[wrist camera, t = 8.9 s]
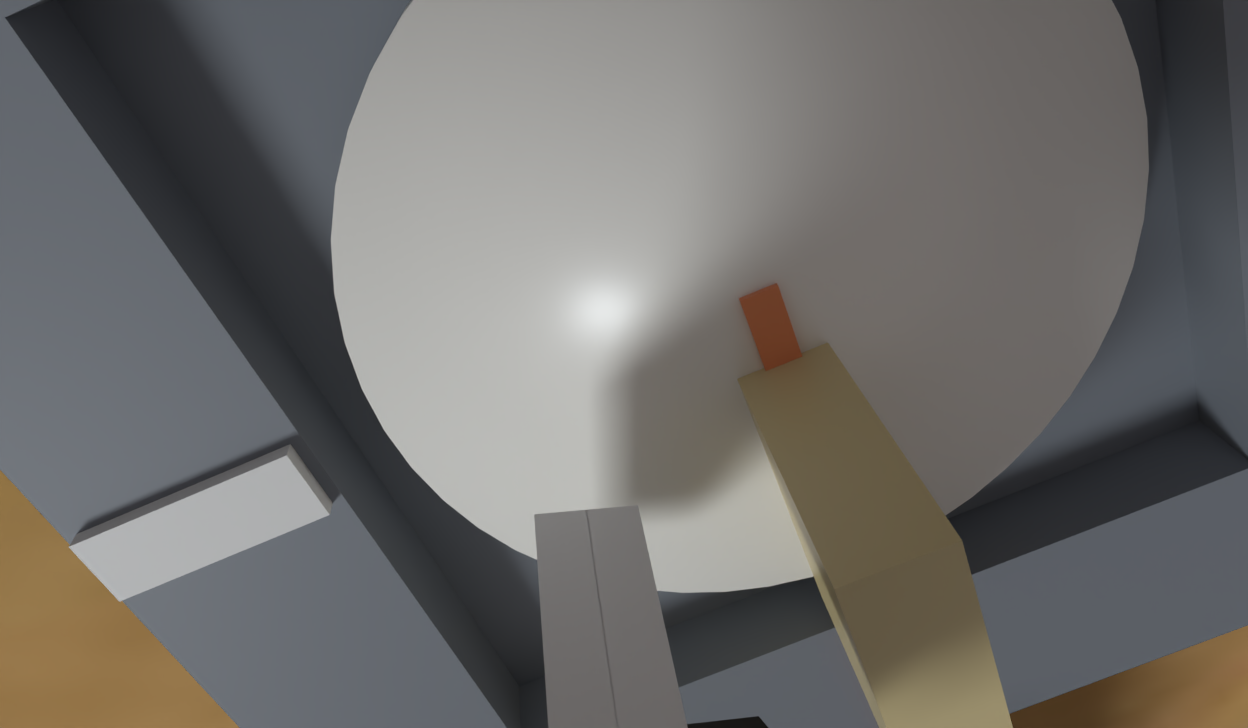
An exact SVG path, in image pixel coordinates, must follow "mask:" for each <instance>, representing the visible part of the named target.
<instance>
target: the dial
mask: <svg viewBox="0 0 1248 728" xmlns="http://www.w3.org/2000/svg"><path fill="white" fill-rule="evenodd" d="M1148 174H1149V155H1148V128H1147V115H1146V109H1145V103H1144V98H1143V92H1142V87H1141V81H1140V76H1139V70H1138V66H1137V63H1136V60H1135V57H1134V54H1133V51H1132V48H1131V45H1130V42H1129V40H1128V37H1127V34H1126V31H1125V28H1124V25H1123V22H1122V19H1121V17H1120V15H1119V13H1118V11H1117V9H1116V7H1115V5H1114V3H1113V1H1112V0H411V1H410V2H409V4H408V5H407V6H406V8H405V10H404V12H403V13H402V15H401V17H400V19H399V20H398V22H397V24H396V26H395V28H394V29H393V31H392V33H391V35H390V37H389V38H388V40H387V42H386V44H385V45H384V47H383V49H382V51H381V53H380V54H379V56H378V58H377V60H376V62H375V64H374V66H373V68H372V70H371V72H370V74H369V76H368V79H367V81H366V84H365V87H364V89H363V92H362V94H361V97H360V100H359V102H358V105H357V107H356V110H355V113H354V115H353V118H352V120H351V123H350V125H349V128H348V132H347V136H346V141H345V145H344V149H343V154H342V158H341V162H340V167H339V171H338V175H337V180H336V184H335V195H334V207H333V219H332V231H331V252H332V267H333V283H334V295H335V300H336V304H337V309H338V314H339V318H340V323H341V328H342V333H343V337H344V342H345V345H346V348H347V351H348V353H349V356H350V359H351V361H352V364H353V367H354V370H355V372H356V375H357V378H358V380H359V383H360V386H361V389H362V390H363V392H364V394H365V396H366V398H367V400H368V402H369V403H370V405H371V407H372V409H373V411H374V413H375V415H376V416H377V418H378V420H379V422H380V424H381V426H382V427H383V429H384V431H385V432H386V434H387V435H388V436H389V438H390V439H391V441H392V442H393V443H394V445H395V446H396V447H397V449H398V450H399V451H400V453H401V454H402V455H403V457H404V458H405V460H406V461H407V462H408V464H409V465H410V466H411V468H412V469H413V470H414V471H415V472H416V473H417V474H418V475H419V476H420V477H421V478H422V479H423V480H424V481H425V482H426V483H427V484H428V485H429V486H430V487H431V488H432V489H433V490H434V491H435V492H436V493H437V494H438V495H439V497H440V498H441V499H442V500H443V501H445V502H446V503H447V504H449V505H450V506H451V507H452V508H454V509H455V510H456V511H457V512H459V513H460V514H461V515H462V516H464V517H465V518H466V519H468V520H469V521H470V522H471V523H473V524H474V525H475V526H476V527H478V528H479V529H481V530H483V531H484V532H486V533H488V534H489V535H491V536H493V537H494V538H496V539H498V540H499V541H501V542H503V543H504V544H506V545H508V546H509V547H511V548H512V549H514V550H516V551H518V552H520V553H523V554H525V555H527V556H529V557H532V558H534V559H536V560H537V549H536V534H535V519H534V514H543V513H554V512H566V511H577V510H588V509H600V508H611V507H622V506H634V505H638V508H639V512H640V517H641V521H642V526H643V530H644V535H645V539H646V544H647V548H648V553H649V557H650V562H651V566H652V570H653V575H654V579H655V584H656V588H657V591H667V592H679V593H695V592H729V591H737V590H745V589H753V588H761V587H769V586H774V585H778V584H783V583H787V582H791V581H796V580H800V579H805V578H809V577H813V576H814V578H815V581H816V584H817V586H818V589H819V591H820V594H821V597H822V599H823V601H824V603H825V606H826V608H827V610H828V612H829V615H830V617H831V619H832V622H833V624H834V626H835V628H836V631H837V633H838V635H839V637H840V640H841V642H842V644H843V647H844V649H845V651H846V653H847V656H848V658H849V660H850V662H851V665H852V667H853V669H854V671H855V674H856V676H857V678H858V681H859V683H860V685H861V687H862V690H863V692H864V694H865V696H866V699H867V701H868V703H869V706H870V708H871V710H872V712H873V715H874V717H875V719H876V721H877V724H878V726H879V728H1013V726H1012V722H1011V719H1010V715H1009V711H1008V708H1007V704H1006V700H1005V696H1004V693H1003V689H1002V685H1001V682H1000V678H999V674H998V671H997V667H996V663H995V660H994V656H993V652H992V649H991V645H990V641H989V638H988V634H987V630H986V626H985V623H984V619H983V615H982V612H981V608H980V604H979V601H978V597H977V593H976V590H975V586H974V582H973V579H972V575H971V571H970V567H969V564H968V560H967V556H966V553H965V549H964V545H963V542H962V539H961V538H960V536H959V535H958V534H957V532H956V531H955V529H954V528H953V526H952V525H951V523H950V522H949V520H948V519H947V517H946V515H947V514H948V513H950V512H951V511H953V510H954V509H956V508H957V507H959V506H960V505H962V504H963V503H964V502H966V501H967V500H969V499H970V498H972V497H973V496H974V495H975V494H977V493H978V492H979V491H980V490H981V489H982V488H984V487H985V486H986V485H987V484H988V483H990V482H991V481H992V480H993V479H994V478H995V477H997V476H998V475H999V474H1000V473H1001V472H1003V471H1004V470H1005V469H1006V468H1007V467H1008V466H1009V465H1010V464H1011V463H1012V462H1013V461H1014V460H1015V459H1016V458H1017V457H1018V456H1019V455H1020V454H1021V453H1022V452H1023V451H1024V450H1025V449H1026V448H1027V447H1028V446H1029V445H1030V444H1031V443H1032V442H1033V441H1034V440H1035V439H1036V438H1037V437H1038V436H1039V435H1040V433H1041V432H1042V431H1043V430H1044V428H1045V427H1046V426H1047V425H1048V423H1049V422H1050V421H1051V420H1052V418H1053V417H1054V416H1055V415H1056V413H1057V412H1058V411H1059V409H1060V408H1061V407H1062V406H1063V404H1064V403H1065V402H1066V401H1067V399H1068V398H1069V397H1070V395H1071V394H1072V392H1073V391H1074V389H1075V387H1076V386H1077V384H1078V383H1079V381H1080V380H1081V378H1082V376H1083V375H1084V373H1085V372H1086V370H1087V369H1088V367H1089V365H1090V364H1091V362H1092V361H1093V359H1094V358H1095V356H1096V354H1097V352H1098V350H1099V348H1100V346H1101V344H1102V342H1103V340H1104V338H1105V336H1106V334H1107V332H1108V330H1109V328H1110V325H1111V323H1112V321H1113V319H1114V317H1115V315H1116V313H1117V311H1118V308H1119V305H1120V302H1121V299H1122V297H1123V294H1124V291H1125V288H1126V286H1127V283H1128V280H1129V277H1130V274H1131V272H1132V269H1133V265H1134V261H1135V257H1136V252H1137V248H1138V243H1139V239H1140V235H1141V230H1142V226H1143V222H1144V215H1145V205H1146V195H1147V184H1148Z"/></svg>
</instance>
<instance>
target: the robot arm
mask: <svg viewBox="0 0 1248 728" xmlns="http://www.w3.org/2000/svg"><path fill="white" fill-rule="evenodd" d="M534 519H535V534H536V549H537V564H538V579H539V594H540V609H541V624H542V639H543V654H544V669H545V684H546V699H547V714H548V728H768V727H767V725H766V724H765V723H764V722H763V721H762V719H761V718H760V717H759V716H755V717H747V718H738V719H729V720H720V721H711V722H702V723H693V724H687V722H686V718H685V714H684V709H683V705H682V700H681V696H680V691H679V687H678V682H677V678H676V673H675V669H674V664H673V660H672V655H671V651H670V646H669V642H668V638H667V633H666V629H665V624H664V620H663V615H662V611H661V606H660V602H659V597H658V593H657V588H656V584H655V579H654V575H653V570H652V566H651V562H650V557H649V553H648V548H647V544H646V539H645V535H644V530H643V526H642V521H641V517H640V512H639V508H638V505H634V506H622V507H611V508H600V509H588V510H577V511H566V512H554V513H543V514H534Z"/></svg>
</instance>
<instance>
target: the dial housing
mask: <svg viewBox="0 0 1248 728" xmlns="http://www.w3.org/2000/svg"><path fill="white" fill-rule="evenodd" d="M410 1H411V0H0V470H1V471H2V472H3V473H4V474H5V475H6V476H7V477H8V479H9V480H10V481H11V482H12V483H13V484H14V485H15V486H16V487H17V488H18V489H19V490H20V491H21V493H22V494H23V495H24V496H25V497H26V498H27V499H28V500H29V501H30V502H31V503H32V504H33V505H34V507H35V508H36V509H37V510H38V511H39V512H40V513H41V514H42V515H43V516H44V517H45V518H46V519H47V521H48V522H49V523H50V524H51V525H52V526H53V527H54V528H55V529H56V530H57V531H58V532H59V533H60V535H61V536H62V537H63V538H64V539H65V540H66V541H67V542H68V543H69V544H70V546H69V548H70V549H71V550H72V551H73V552H74V553H75V554H76V555H77V556H78V558H79V559H80V560H81V561H82V562H83V563H84V564H85V565H86V566H87V567H88V568H89V569H90V570H91V571H92V573H93V574H94V575H95V576H96V577H97V578H98V579H99V580H100V581H101V582H102V583H103V584H104V585H105V587H106V588H107V589H108V590H109V591H110V592H111V593H112V594H113V595H114V596H115V597H116V598H117V599H118V600H119V602H120V601H123V602H124V603H125V605H126V606H127V607H128V608H129V609H130V610H131V611H132V612H133V613H134V614H135V615H136V616H137V617H138V619H139V620H140V621H141V622H142V623H143V624H144V625H145V626H146V627H147V628H148V629H149V630H150V631H151V633H152V634H153V635H154V636H155V637H156V638H157V639H158V640H159V641H160V642H161V643H162V644H163V645H164V647H165V648H166V649H167V650H168V651H169V652H170V653H171V654H172V655H173V656H174V657H175V658H176V659H177V661H178V662H179V663H180V664H181V665H182V666H183V667H184V668H185V669H186V670H187V671H188V672H189V674H190V675H191V676H192V677H193V678H194V679H195V680H196V681H197V682H198V683H199V684H200V685H201V686H202V688H203V689H204V690H205V691H206V692H207V693H208V694H209V695H210V696H211V697H212V698H213V699H214V700H215V702H216V703H217V704H218V705H219V706H220V707H221V708H222V709H223V710H224V711H225V712H226V713H227V714H228V716H229V717H230V718H231V719H232V720H233V721H234V722H235V723H236V724H237V725H238V726H239V727H240V728H548V714H547V699H546V684H545V669H544V654H543V639H542V624H541V609H540V594H539V579H538V564H537V560H536V559H534V558H532V557H529V556H527V555H525V554H523V553H520V552H518V551H516V550H514V549H512V548H511V547H509V546H508V545H506V544H504V543H503V542H501V541H499V540H498V539H496V538H494V537H493V536H491V535H489V534H488V533H486V532H484V531H483V530H481V529H479V528H478V527H476V526H475V525H474V524H473V523H471V522H470V521H469V520H468V519H466V518H465V517H464V516H462V515H461V514H460V513H459V512H457V511H456V510H455V509H454V508H452V507H451V506H450V505H449V504H447V503H446V502H445V501H443V500H442V499H441V498H440V497H439V495H438V494H437V493H436V492H435V491H434V490H433V489H432V488H431V487H430V486H429V485H428V484H427V483H426V482H425V481H424V480H423V479H422V478H421V477H420V476H419V475H418V474H417V473H416V472H415V471H414V470H413V469H412V468H411V466H410V465H409V464H408V462H407V461H406V460H405V458H404V457H403V455H402V454H401V453H400V451H399V450H398V449H397V447H396V446H395V445H394V443H393V442H392V441H391V439H390V438H389V436H388V435H387V434H386V432H385V431H384V429H383V427H382V426H381V424H380V422H379V420H378V418H377V416H376V415H375V413H374V411H373V409H372V407H371V405H370V403H369V402H368V400H367V398H366V396H365V394H364V392H363V390H362V389H361V386H360V383H359V380H358V378H357V375H356V372H355V370H354V367H353V364H352V361H351V359H350V356H349V353H348V351H347V348H346V345H345V342H344V337H343V333H342V328H341V323H340V318H339V314H338V309H337V304H336V300H335V295H334V283H333V267H332V252H331V231H332V219H333V207H334V195H335V184H336V180H337V175H338V171H339V167H340V162H341V158H342V154H343V149H344V145H345V141H346V136H347V132H348V128H349V125H350V123H351V120H352V118H353V115H354V113H355V110H356V107H357V105H358V102H359V100H360V97H361V94H362V92H363V89H364V87H365V84H366V81H367V79H368V76H369V74H370V72H371V70H372V68H373V66H374V64H375V62H376V60H377V58H378V56H379V54H380V53H381V51H382V49H383V47H384V45H385V44H386V42H387V40H388V38H389V37H390V35H391V33H392V31H393V29H394V28H395V26H396V24H397V22H398V20H399V19H400V17H401V15H402V13H403V12H404V10H405V8H406V6H407V5H408V4H409V2H410ZM1112 1H1113V3H1114V5H1115V7H1116V9H1117V11H1118V13H1119V15H1120V17H1121V19H1122V22H1123V25H1124V28H1125V31H1126V34H1127V37H1128V40H1129V42H1130V45H1131V48H1132V51H1133V54H1134V57H1135V60H1136V63H1137V66H1138V70H1139V76H1140V81H1141V87H1142V92H1143V98H1144V103H1145V109H1146V115H1147V128H1148V155H1149V174H1148V184H1147V195H1146V205H1145V215H1144V222H1143V226H1142V230H1141V235H1140V239H1139V243H1138V248H1137V252H1136V257H1135V261H1134V265H1133V269H1132V272H1131V274H1130V277H1129V280H1128V283H1127V286H1126V288H1125V291H1124V294H1123V297H1122V299H1121V302H1120V305H1119V308H1118V311H1117V313H1116V315H1115V317H1114V319H1113V321H1112V323H1111V325H1110V328H1109V330H1108V332H1107V334H1106V336H1105V338H1104V340H1103V342H1102V344H1101V346H1100V348H1099V350H1098V352H1097V354H1096V356H1095V358H1094V359H1093V361H1092V362H1091V364H1090V365H1089V367H1088V369H1087V370H1086V372H1085V373H1084V375H1083V376H1082V378H1081V380H1080V381H1079V383H1078V384H1077V386H1076V387H1075V389H1074V391H1073V392H1072V394H1071V395H1070V397H1069V398H1068V399H1067V401H1066V402H1065V403H1064V404H1063V406H1062V407H1061V408H1060V409H1059V411H1058V412H1057V413H1056V415H1055V416H1054V417H1053V418H1052V420H1051V421H1050V422H1049V423H1048V425H1047V426H1046V427H1045V428H1044V430H1043V431H1042V432H1041V433H1040V435H1039V436H1038V437H1037V438H1036V439H1035V440H1034V441H1033V442H1032V443H1031V444H1030V445H1029V446H1028V447H1027V448H1026V449H1025V450H1024V451H1023V452H1022V453H1021V454H1020V455H1019V456H1018V457H1017V458H1016V459H1015V460H1014V461H1013V462H1012V463H1011V464H1010V465H1009V466H1008V467H1007V468H1006V469H1005V470H1004V471H1003V472H1001V473H1000V474H999V475H998V476H997V477H995V478H994V479H993V480H992V481H991V482H990V483H988V484H987V485H986V486H985V487H984V488H982V489H981V490H980V491H979V492H978V493H977V494H975V495H974V496H973V497H972V498H970V499H969V500H967V501H966V502H964V503H963V504H962V505H960V506H959V507H957V508H956V509H954V510H953V511H951V512H950V513H948V514H947V515H946V517H947V519H948V520H949V522H950V523H951V525H952V526H953V528H954V529H955V531H956V532H957V534H958V535H959V536H960V538H961V539H962V542H963V545H964V549H965V553H966V556H967V560H968V564H969V567H970V571H971V575H972V579H973V582H974V586H975V590H976V593H977V597H978V601H979V604H980V608H981V612H982V615H983V619H984V623H985V626H986V630H987V634H988V638H989V641H990V645H991V649H992V652H993V656H994V660H995V663H996V667H997V671H998V674H999V678H1000V682H1001V685H1002V689H1003V693H1004V696H1005V700H1006V704H1007V708H1008V711H1009V714H1010V713H1013V712H1015V711H1018V710H1021V709H1024V708H1026V707H1029V706H1032V705H1034V704H1037V703H1040V702H1042V701H1045V700H1048V699H1050V698H1053V697H1056V696H1059V695H1061V694H1064V693H1067V692H1069V691H1072V690H1075V689H1077V688H1080V687H1083V686H1085V685H1088V684H1091V683H1094V682H1096V681H1099V680H1102V679H1104V678H1107V677H1110V676H1112V675H1115V674H1118V673H1120V672H1123V671H1126V670H1129V669H1131V668H1134V667H1137V666H1139V665H1142V664H1145V663H1147V662H1150V661H1153V660H1155V659H1158V658H1161V657H1163V656H1166V655H1169V654H1172V653H1174V652H1177V651H1180V650H1182V649H1185V648H1188V647H1190V646H1193V645H1196V644H1198V643H1201V642H1204V641H1207V640H1209V639H1212V638H1215V637H1217V636H1220V635H1223V634H1225V633H1228V632H1231V631H1233V630H1236V629H1239V628H1242V627H1244V626H1247V625H1248V0H1112ZM657 593H658V597H659V602H660V606H661V611H662V615H663V620H664V624H665V629H666V633H667V638H668V642H669V646H670V651H671V655H672V660H673V664H674V669H675V673H676V678H677V682H678V687H679V691H680V696H681V700H682V705H683V709H684V714H685V718H686V722H687V724H693V723H702V722H711V721H720V720H729V719H738V718H747V717H755V716H759V717H760V718H761V719H762V721H763V722H764V723H765V724H766V725H767V727H768V728H879V726H878V724H877V721H876V719H875V717H874V715H873V712H872V710H871V708H870V706H869V703H868V701H867V699H866V696H865V694H864V692H863V690H862V687H861V685H860V683H859V681H858V678H857V676H856V674H855V671H854V669H853V667H852V665H851V662H850V660H849V658H848V656H847V653H846V651H845V649H844V647H843V644H842V642H841V640H840V637H839V635H838V633H837V631H836V628H835V626H834V624H833V622H832V619H831V617H830V615H829V612H828V610H827V608H826V606H825V603H824V601H823V599H822V597H821V594H820V591H819V589H818V586H817V584H816V581H815V578H814V576H813V577H809V578H805V579H800V580H796V581H791V582H787V583H783V584H778V585H774V586H769V587H761V588H753V589H745V590H737V591H729V592H695V593H679V592H667V591H657Z"/></svg>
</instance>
